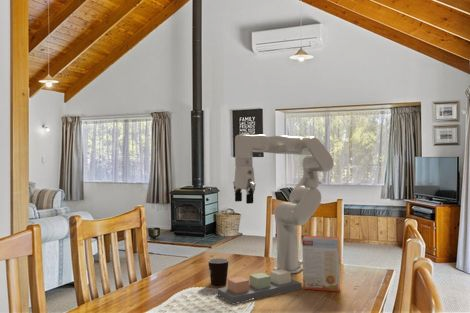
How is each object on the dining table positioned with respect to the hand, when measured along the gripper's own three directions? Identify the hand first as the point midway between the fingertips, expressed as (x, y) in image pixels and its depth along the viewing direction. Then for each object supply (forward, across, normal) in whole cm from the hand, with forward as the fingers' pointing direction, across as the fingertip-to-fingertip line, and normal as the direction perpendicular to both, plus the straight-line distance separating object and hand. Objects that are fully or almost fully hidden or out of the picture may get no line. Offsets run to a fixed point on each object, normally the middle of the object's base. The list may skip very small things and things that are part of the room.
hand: (244, 202), depth 190 cm
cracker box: (+34, -27, -20) cm, 48 cm away
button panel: (+34, -18, +3) cm, 38 cm away
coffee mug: (+34, +1, +12) cm, 36 cm away
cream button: (+32, -18, -7) cm, 37 cm away
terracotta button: (+32, -18, +13) cm, 39 cm away
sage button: (+32, -18, +3) cm, 37 cm away
